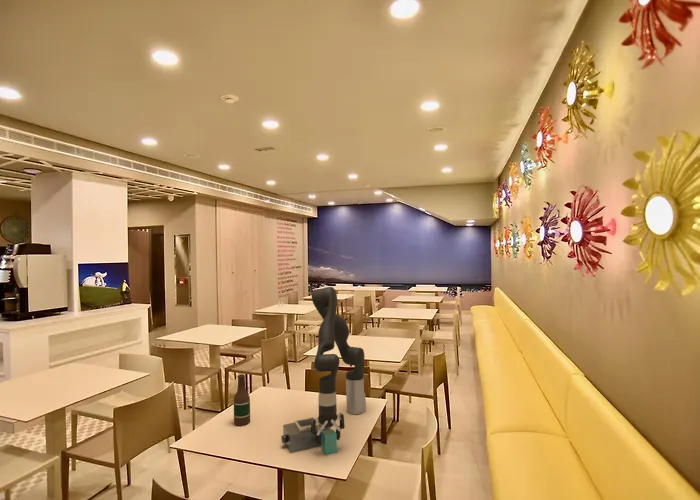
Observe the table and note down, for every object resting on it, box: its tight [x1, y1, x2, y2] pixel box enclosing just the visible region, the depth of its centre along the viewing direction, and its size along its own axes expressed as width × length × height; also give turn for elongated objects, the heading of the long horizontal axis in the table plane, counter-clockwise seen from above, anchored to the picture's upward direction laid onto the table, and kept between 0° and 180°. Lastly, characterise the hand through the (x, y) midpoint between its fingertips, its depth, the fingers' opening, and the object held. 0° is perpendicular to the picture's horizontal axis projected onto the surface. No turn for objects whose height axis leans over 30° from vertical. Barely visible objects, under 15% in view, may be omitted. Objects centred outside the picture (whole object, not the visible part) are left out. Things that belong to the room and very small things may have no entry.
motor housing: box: [280, 417, 332, 454], centre depth 173 cm, size 20×12×8 cm, turn 114°
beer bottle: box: [233, 373, 251, 427], centre depth 194 cm, size 8×8×24 cm
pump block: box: [321, 428, 338, 456], centre depth 164 cm, size 5×5×8 cm
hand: (328, 441), depth 164 cm, fingers open, 8 cm apart
